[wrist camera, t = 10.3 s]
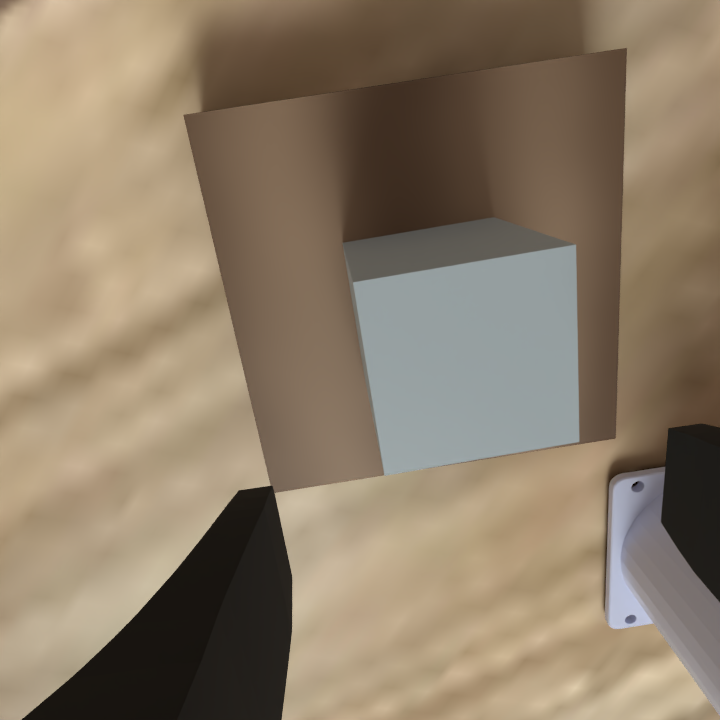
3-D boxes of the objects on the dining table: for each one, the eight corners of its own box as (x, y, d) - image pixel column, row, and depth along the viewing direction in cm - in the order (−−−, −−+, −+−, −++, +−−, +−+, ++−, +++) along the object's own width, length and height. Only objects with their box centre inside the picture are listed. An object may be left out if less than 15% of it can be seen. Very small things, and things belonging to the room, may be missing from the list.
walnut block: (577, 65, 18) (626, 47, 15) (577, 402, 22) (615, 438, 19) (205, 121, 17) (183, 114, 15) (278, 449, 22) (272, 492, 19)
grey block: (493, 217, 16) (575, 244, 11) (503, 359, 18) (579, 441, 12) (342, 242, 16) (352, 282, 11) (365, 383, 18) (384, 475, 12)
